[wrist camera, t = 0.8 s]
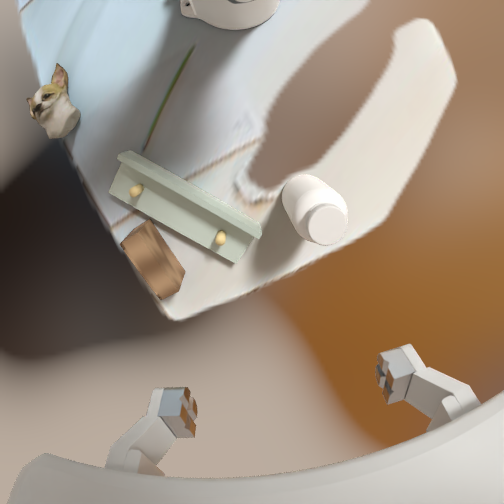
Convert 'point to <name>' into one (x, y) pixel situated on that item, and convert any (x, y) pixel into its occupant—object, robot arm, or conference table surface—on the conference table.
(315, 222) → the pill bottle
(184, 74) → the conference table surface
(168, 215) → the ledge
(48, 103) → the ceramic sculpture
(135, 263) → the wooden box
